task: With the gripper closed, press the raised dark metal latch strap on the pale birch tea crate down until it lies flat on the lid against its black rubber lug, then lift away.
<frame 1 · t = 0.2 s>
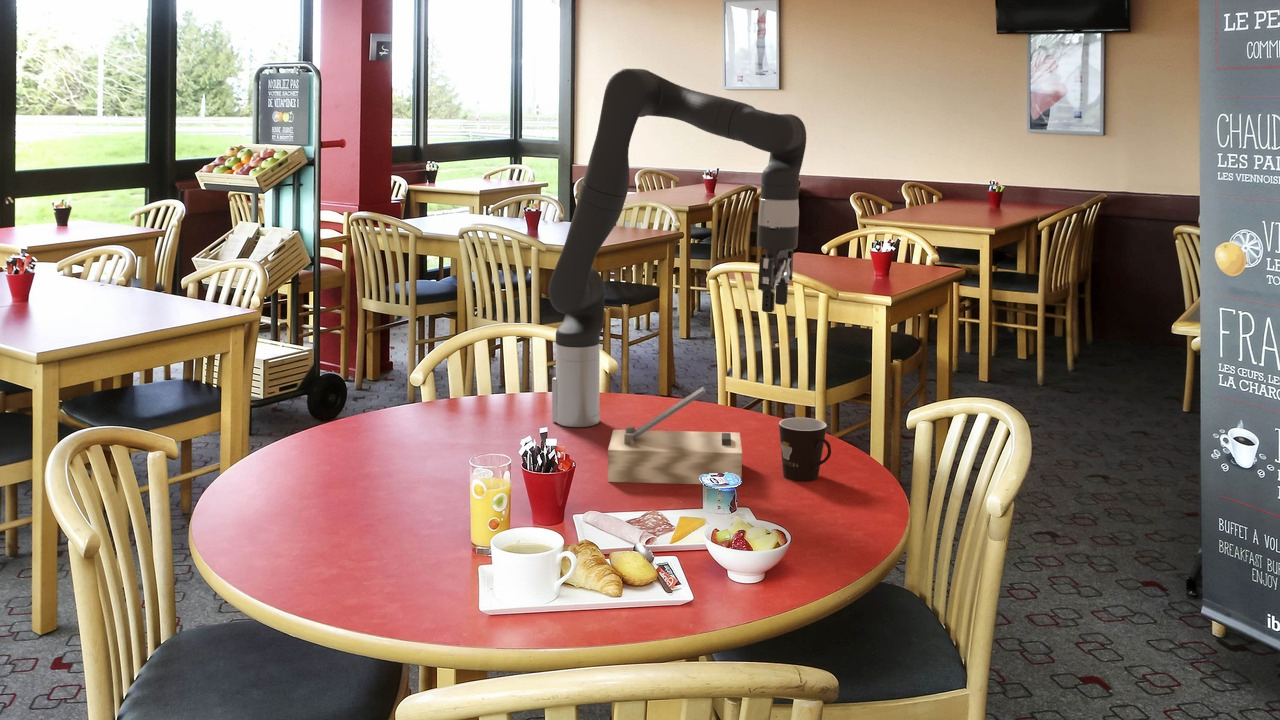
hand: (774, 308, 220), 29 cm above the table, fingers open, 8 cm apart
latch strap: (667, 413, 212), point 11 cm above the table, hinge at 35.0°
coffee mug: (802, 479, 211), on the table
tea crate: (675, 472, 214), on the table
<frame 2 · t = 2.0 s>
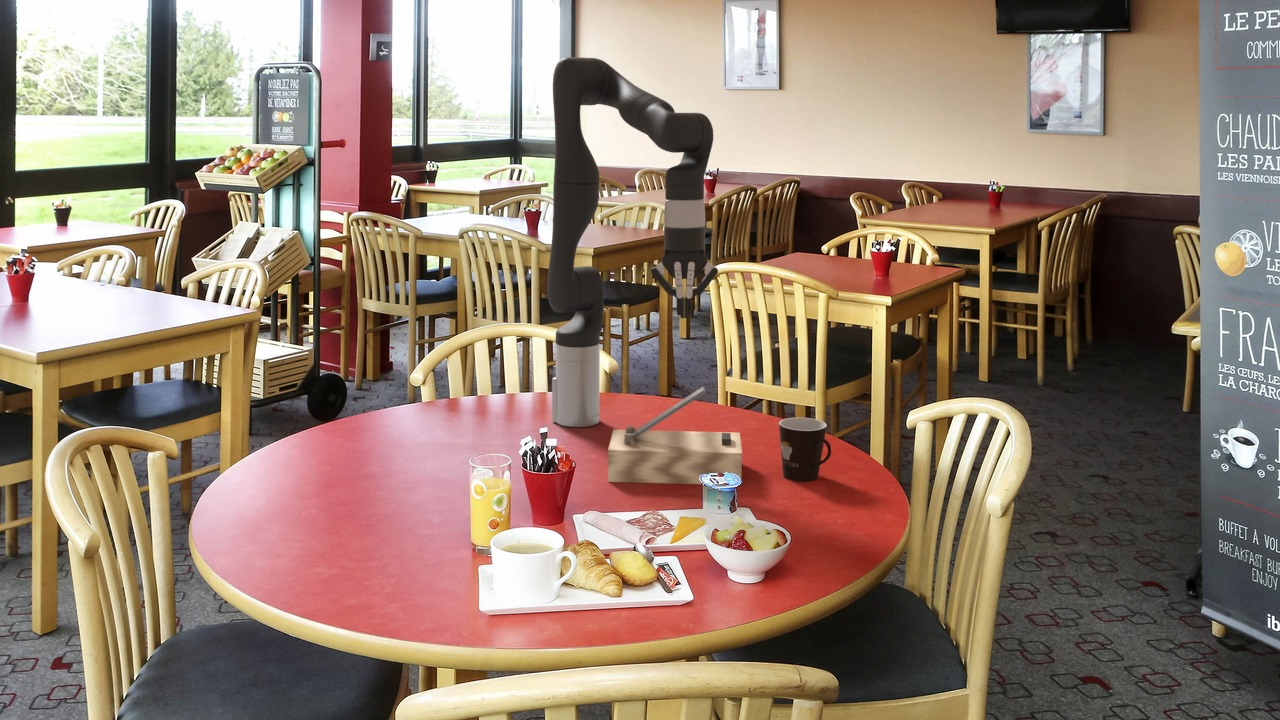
hand: (684, 317, 214), 28 cm above the table, fingers closed
nothing on the table moved.
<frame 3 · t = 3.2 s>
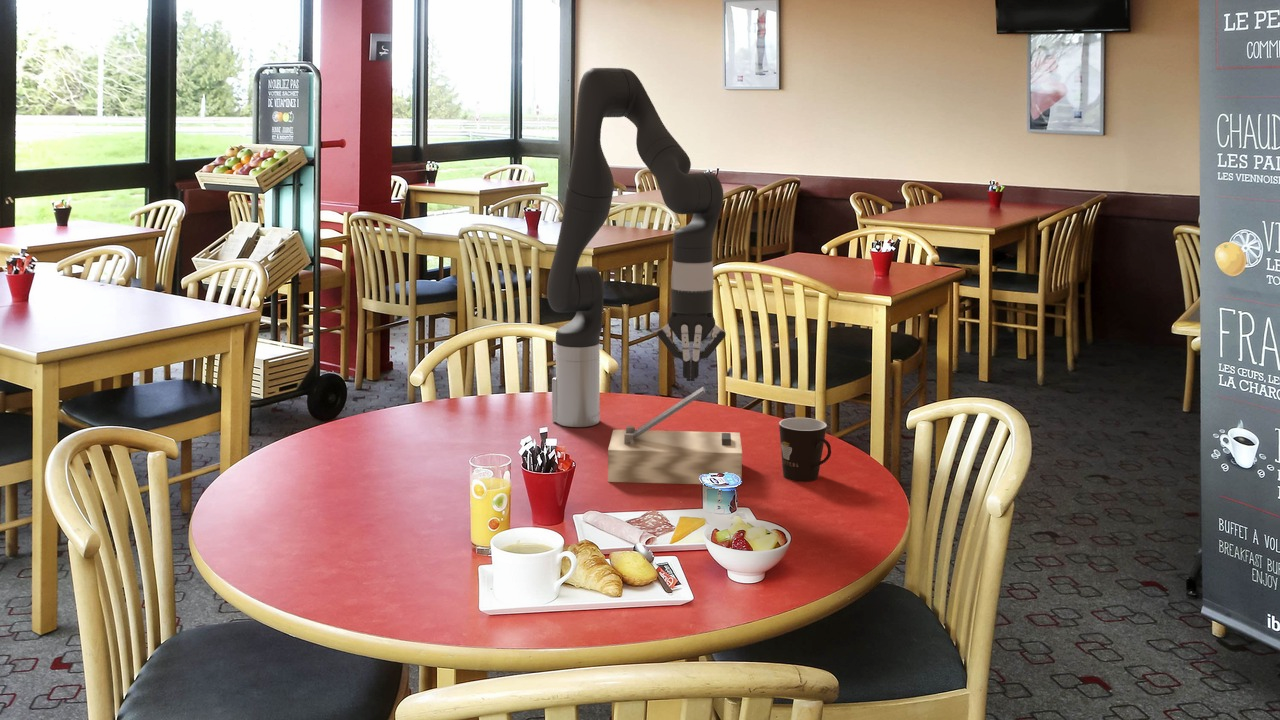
hand: (690, 380, 210), 18 cm above the table, fingers closed
nothing on the table moved.
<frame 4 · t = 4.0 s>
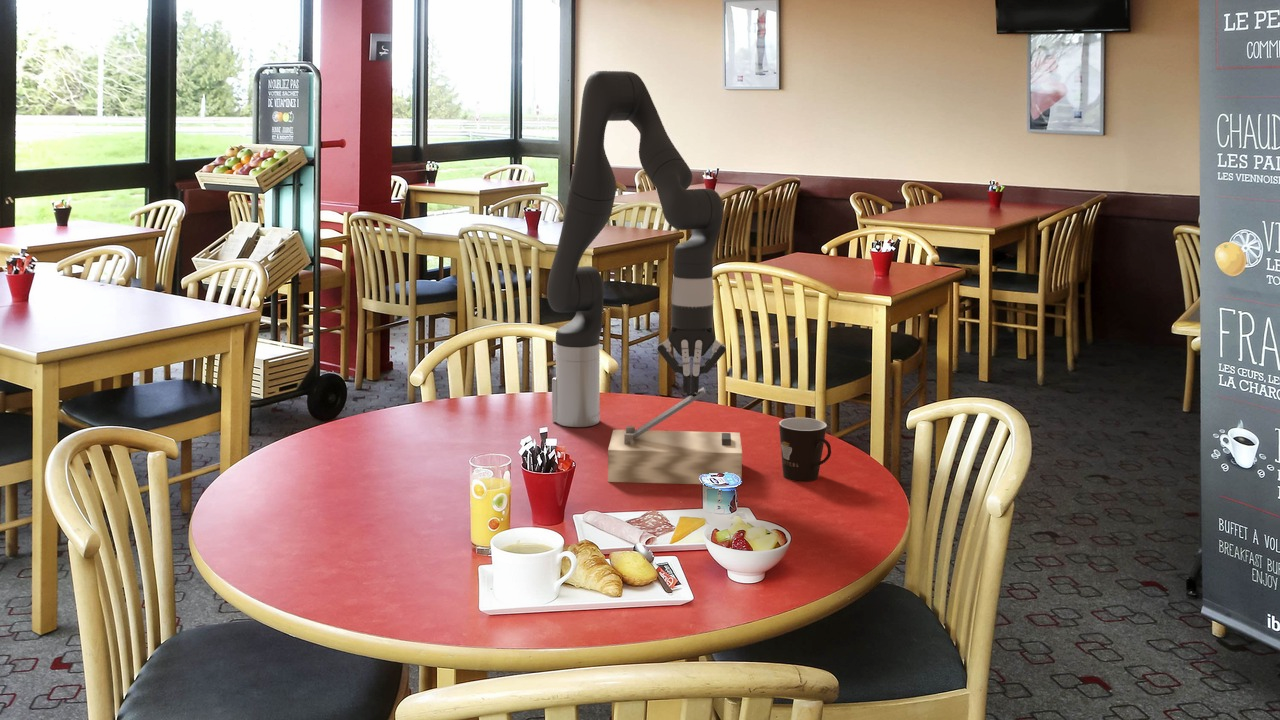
hand: (690, 394, 211), 15 cm above the table, fingers closed
latch strap: (667, 413, 212), point 11 cm above the table, hinge at 34.6°, touching gripper
everything else where it was.
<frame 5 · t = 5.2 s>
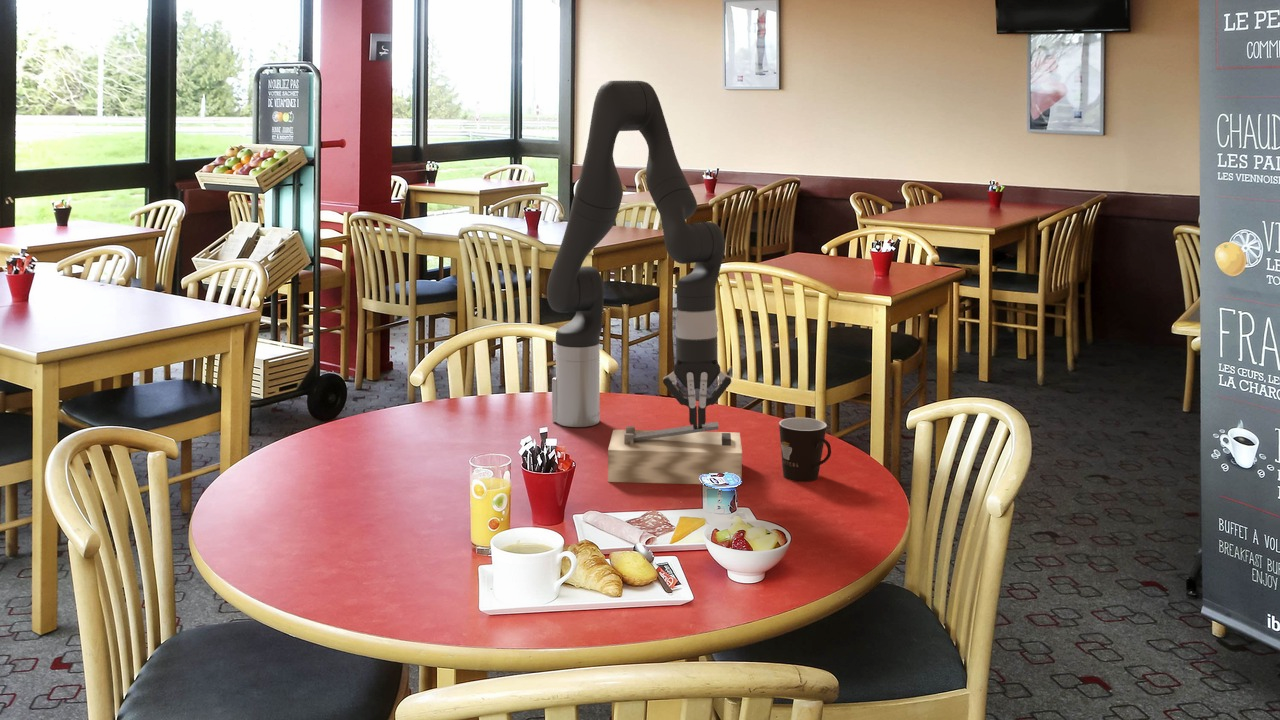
hand: (697, 426, 212), 9 cm above the table, fingers closed
latch strap: (675, 431, 212), point 8 cm above the table, hinge at 9.6°, touching gripper
everything else where it was.
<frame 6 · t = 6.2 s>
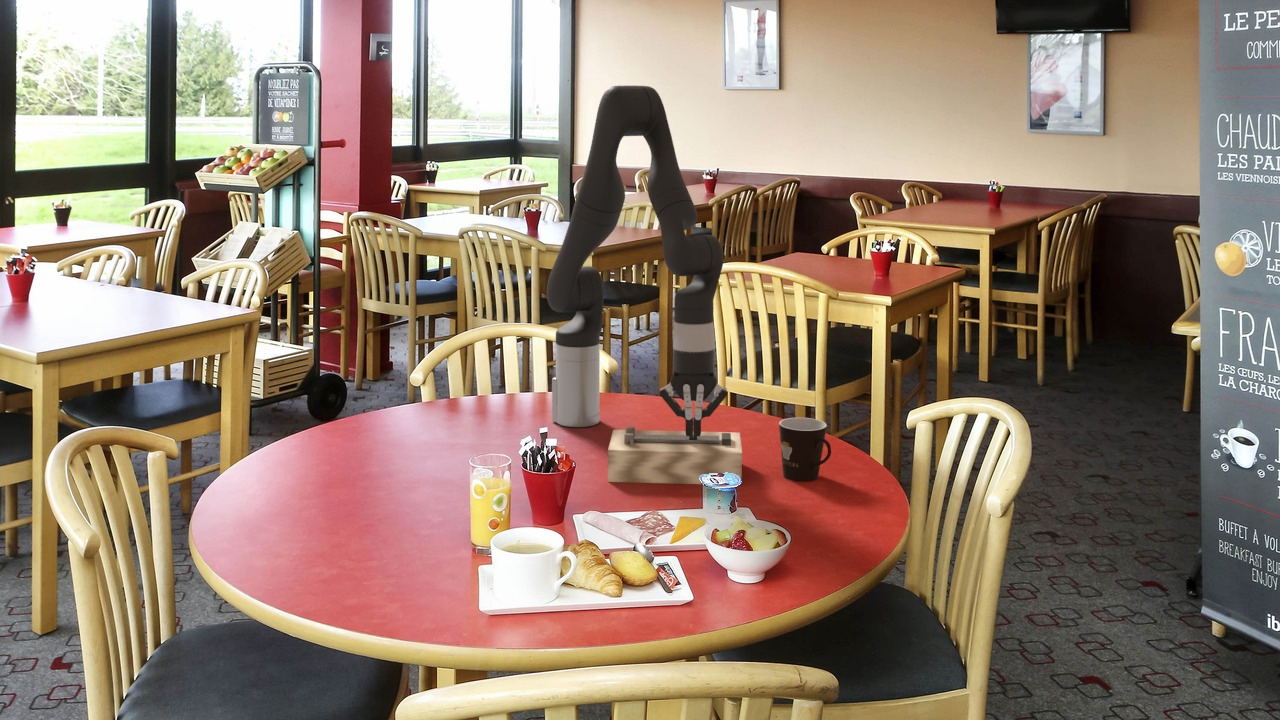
hand: (693, 438, 212), 7 cm above the table, fingers closed
latch strap: (675, 438, 213), point 6 cm above the table, hinge at 0.2°, touching gripper
everything else where it was.
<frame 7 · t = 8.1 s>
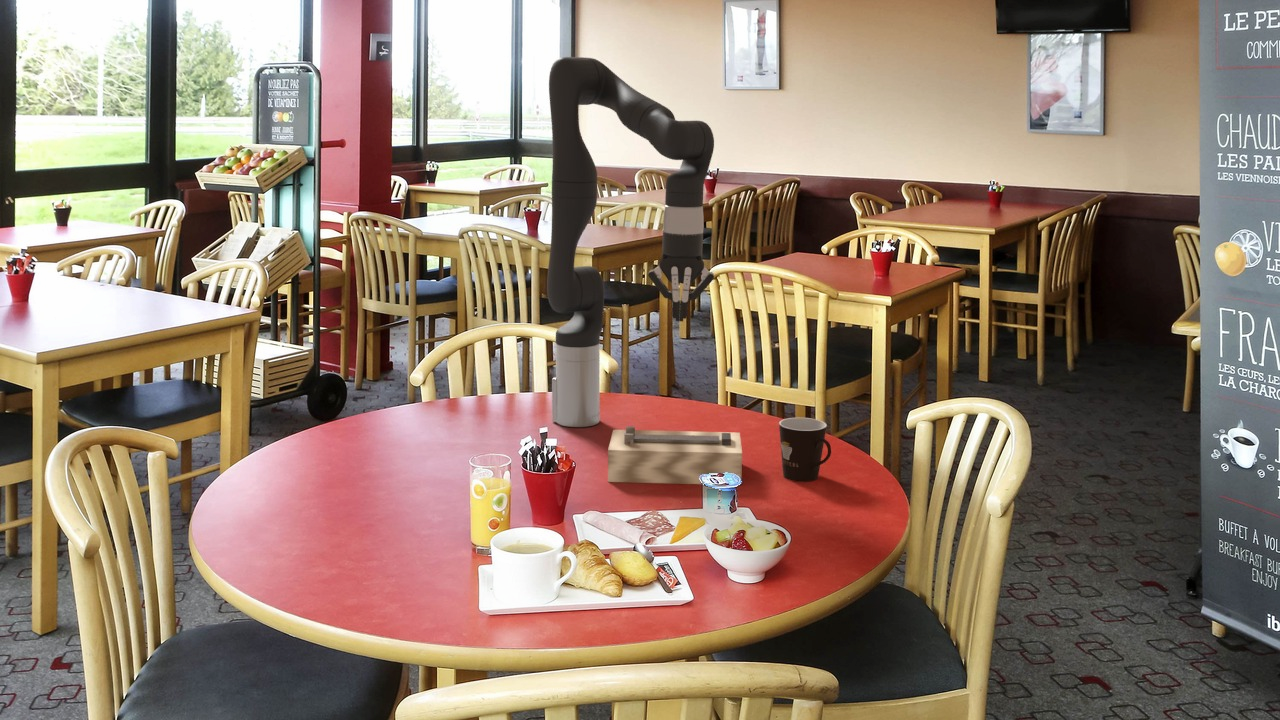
hand: (679, 320, 219), 26 cm above the table, fingers closed
latch strap: (675, 438, 213), point 6 cm above the table, hinge at 0.1°
everything else where it was.
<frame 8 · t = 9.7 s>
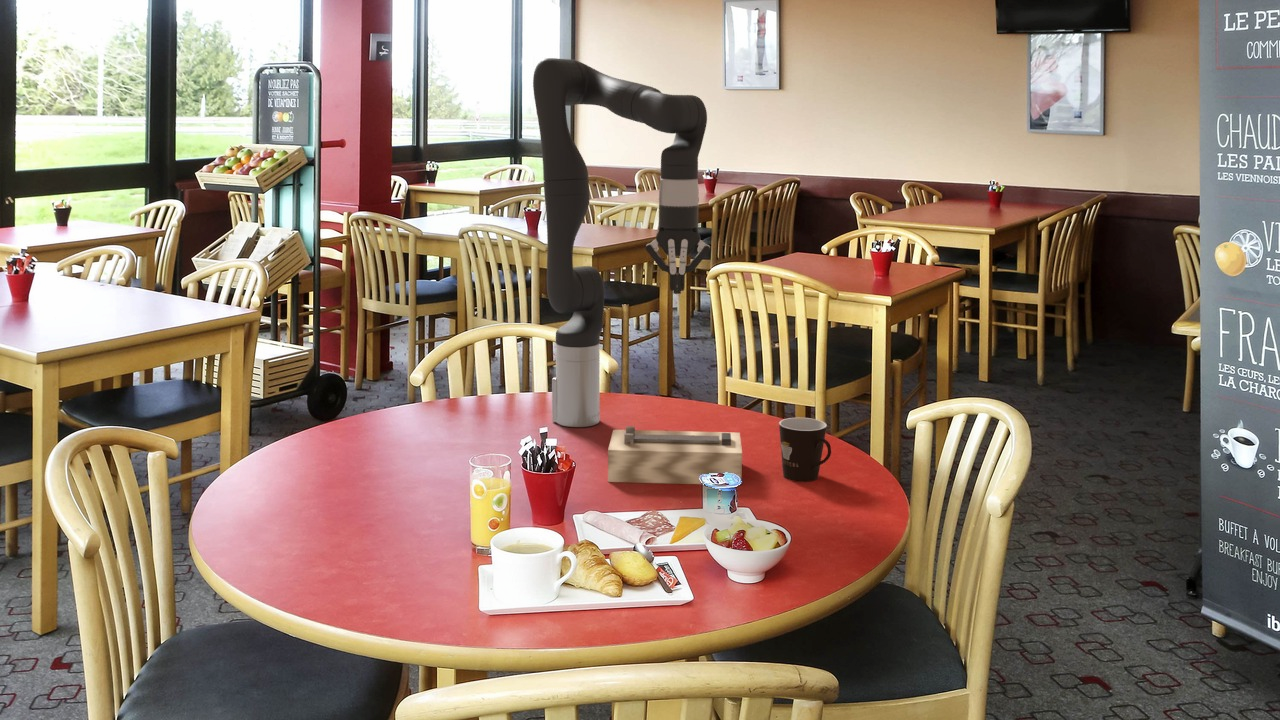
hand: (677, 293, 222), 31 cm above the table, fingers closed
nothing on the table moved.
at the end: latch strap at +0° (first picture: +35°) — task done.
